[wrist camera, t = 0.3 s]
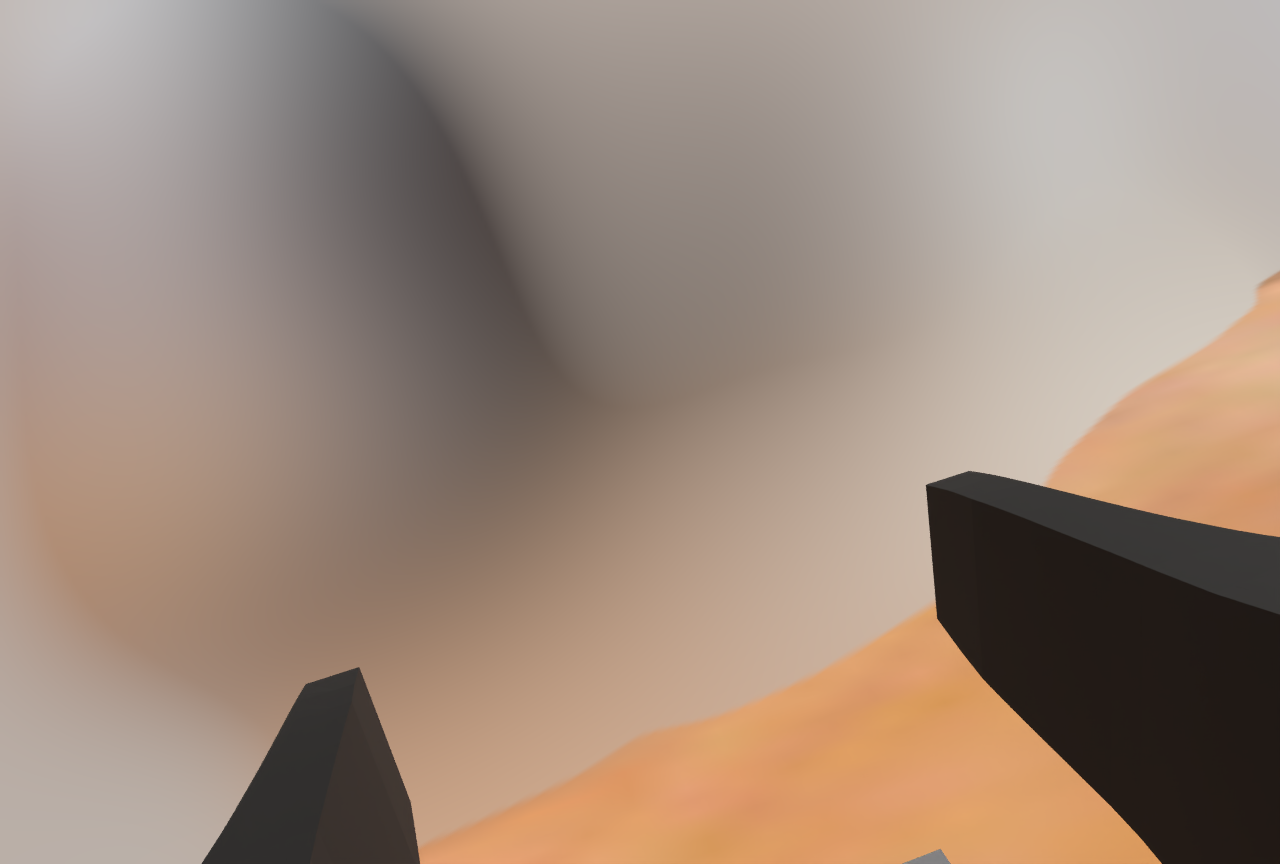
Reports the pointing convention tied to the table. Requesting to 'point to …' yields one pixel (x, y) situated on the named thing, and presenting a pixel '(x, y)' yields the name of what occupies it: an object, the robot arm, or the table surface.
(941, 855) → the tray
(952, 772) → the table surface
